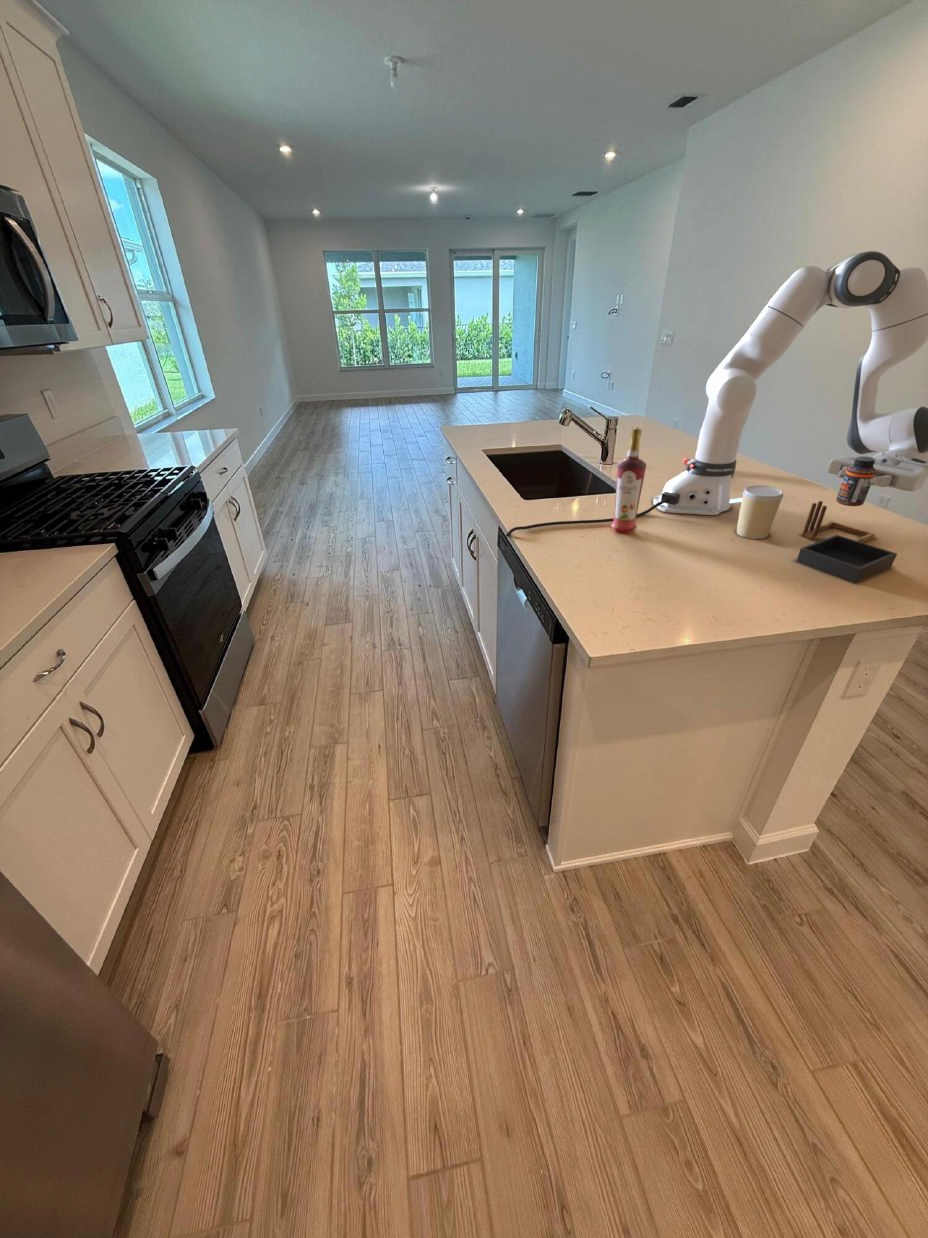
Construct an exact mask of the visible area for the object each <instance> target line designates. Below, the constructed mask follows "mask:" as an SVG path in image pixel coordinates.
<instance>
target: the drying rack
mask: <svg viewBox="0 0 928 1238" xmlns="http://www.w3.org/2000/svg"><path fill="white" fill-rule="evenodd" d="M823 503H824V501H822V500H819V501H818V502H817V503H816V502H812V503H811V507H810V508H809V512H808V514H807V518H806V522H805V525H804V528H803V531H802V534H801V537H805V538H807V539H811V540H813V541H816V542H819V541H821V540H824V539H827V538H828V537H824V536H822V535H819V532H821V531H824V530H827V529H829V528H835V529H838V530H841V531H844V532H848V533H850V534H851V533H852V534H854V535H857V536H861V537H858V538H856V539H854V540H855V541H859V542H862V543H864V542H865V543H866V542H867V541H870V540H872V539H874V538H875V533H873V532H870V531H866V530H863V529H859V528H856V527H852V526H849V525H845V524H843V523H840V522H836V521H828V522H826V523H823V520H824V517H825V514H826V511H827V508H828V506H827V505H823ZM822 523H823V524H822Z"/></svg>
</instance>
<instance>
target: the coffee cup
mask: <svg viewBox="0 0 928 1238" xmlns="http://www.w3.org/2000/svg"><path fill="white" fill-rule="evenodd" d="M741 498H742V501H741V502H740V503H741V504H740V508H739V513H738V519H737V526H736V534H737V535H738V536H740V537H743V538H745V539H750V540H751V539H752V540H762V539H765V538H767V537H769V534H770V532H771V529H772V526H773V523H774V521H775V518H776V515H777V513H778V510H779V508H780V504H781V502H782V499H783V498H784V493H783V490H781V489H779V488H777V487H773V486H768V485H750V486H747V487H745V488H744V490H743V491H742V497H741Z"/></svg>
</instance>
